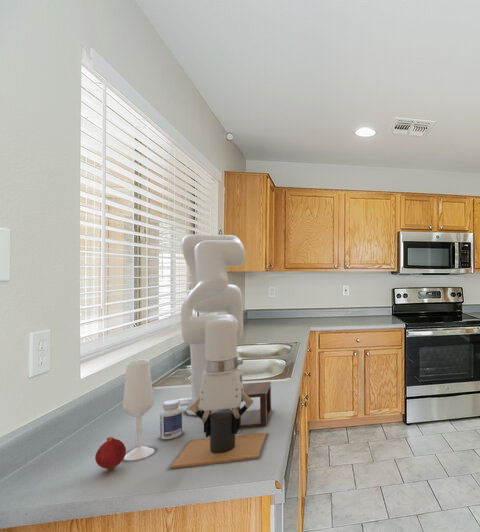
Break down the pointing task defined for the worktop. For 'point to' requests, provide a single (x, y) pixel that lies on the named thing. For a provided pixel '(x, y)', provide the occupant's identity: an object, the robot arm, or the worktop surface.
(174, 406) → the pill bottle
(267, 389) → the wooden frame
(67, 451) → the worktop surface
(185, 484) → the worktop surface
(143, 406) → the champagne flute
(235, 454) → the mat
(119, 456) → the onion
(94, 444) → the worktop surface
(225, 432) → the dark grey cylinder
